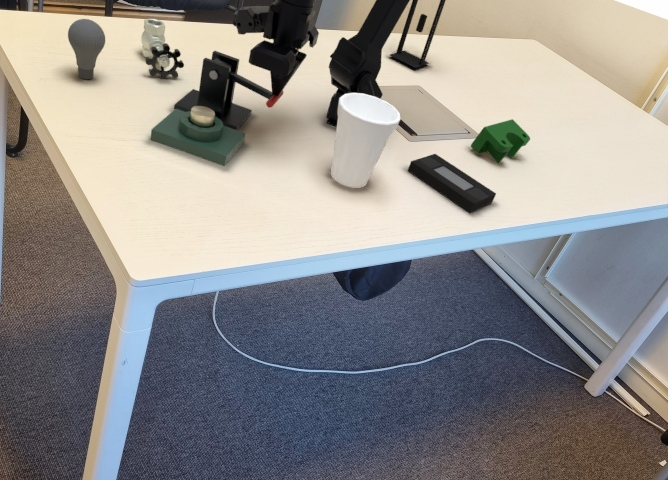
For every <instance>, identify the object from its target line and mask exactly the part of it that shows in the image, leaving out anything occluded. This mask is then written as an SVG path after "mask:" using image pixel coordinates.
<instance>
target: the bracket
mask: <svg viewBox="0 0 668 480" xmlns="http://www.w3.org/2000/svg"><path fill="white" fill-rule="evenodd" d="M216 58H219V59H221V60H223V61H225V62H227V63H229V64H231V65H232V67H231V66H228V65H225V64H222V63H220V62H217V61H214V59H216ZM239 65H240V58H237V57H234V56H231V55H228V54H225V53H223V52H220V51H217V50H213V51H212V54H211V58H208V57H204V58H203V59H202V65H201V66H202V67H201V74H200V79H199V80H200V81H199V89H198V90H197V89H195V88H192V89H191V90H190V91H189V92H187V93H186V94H185V95H184V96H183V97H182V98H181V99H179V100H178V101H177V102H176V103H175V104H174V105H173V109H174V110H175V109H179V110H181V111H184V112H188V111H191V109H192V107H194V106H204V107H208V108H210V109H212V110H213V111H214V112H215V116H216V117H217V118H219V119H220V120H221V121H222V123H223V126H226V127H229V128H232V129H235V130H237V131H238V129H240V127H241V126H242V125H243V124H244V123H245V122H246V121H247V120H248V119H249V117H250V116H251V115H252V112H253V110H252V109H251V108H247V107H244V106H241V105H239V104H236V103H234V102H233V100H234V94H235V88H236V84H237V83H236V82H234V81H232V80H230V79H229V77H230V71H232V72H234V73H236V74H238V71H239Z"/></svg>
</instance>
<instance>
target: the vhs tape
mask: <svg viewBox="0 0 668 480" xmlns="http://www.w3.org/2000/svg"><path fill="white" fill-rule="evenodd" d="M407 172H409V173H411V174H412V175H413V176H414V177H416V178H418V179H420V180H421V181H423V182H424V183H425V184H427V185H429V187H431V188H433V189H434V190H436V191H437V192H439V193H440V194H442V195H443V196H444V197H446V198H447V199H448V200H450V201H452V202H453V203H454V204H456V205H457V206H458V207H460V208H462V209H464V210H465V211H466V212H468V213H469V214H471V213H473V212H476V211H478V210H480V209H483V208H484V207H486V206H488V205H491V204H493V202H494V200H495V197H496V195H497V193H496V192H495V191H493V190H492V189H490V188H489V187H487V186H485V185H484V184H482V183H481V182H479V181H478V180H476V179H475V178H473V177H472V176H470V175H469V174H467V173H466V172H464V171H463V170H461V169H459V168H458V167H456V166H455V165H453V164H452V163H450V162H449V161H448V160H446V159H444V158H442V157H441V156H440V155H438V154H437V153H433V154H429V155H427V156H424V157H420V158H417V159H414V160H411V161H410V163H409V165H408V169H407Z"/></svg>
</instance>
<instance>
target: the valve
mask: <svg viewBox="0 0 668 480" xmlns="http://www.w3.org/2000/svg"><path fill="white" fill-rule="evenodd" d="M165 33H166V24H165V23H164V21H162V20H159V19H156V18H146V19H144V20H143V31H142V34H141V39H140V41H141V45H142V46H141V54H142V56H143V57H144V62H145V64H146V65H147V66H152V68H149V69H148V73H149V75H150V76H151V77H155V76H157V74H158V75H159V79H160V80H167V79H168V76H171V77H172V78H174V79H176V78H177V79H178V77H179V73H178V71H177V69H178V68H179V69H183V68H184V66H185V63H184V61H183V60H181V59H179V60H178V58H180V57H181V55H182V53H181V51H180V50H179V49H178V48H175V49H174V50H173V52H172V51H171V47H170V45H169V44H168V43H167V42H166V37H165ZM170 59H173V65H172V67H171V68H170V69H168V70H165V69H166V68H168V67H169V66H170V65H171V63H170V62H171V61H170ZM156 61H157V63H158V65H159V66H160V67H159V68H160V69H159V68H158V67H157V66H156Z"/></svg>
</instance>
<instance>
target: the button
mask: <svg viewBox="0 0 668 480" xmlns="http://www.w3.org/2000/svg"><path fill="white" fill-rule="evenodd" d="M214 118H215V112H214V111H213V110H212V109H210V108H208V107H204V106H194V107H192V109H191V115H190V123H191V124H193V125H195V126H198V127H201V128H211V127H213V124H214Z"/></svg>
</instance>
